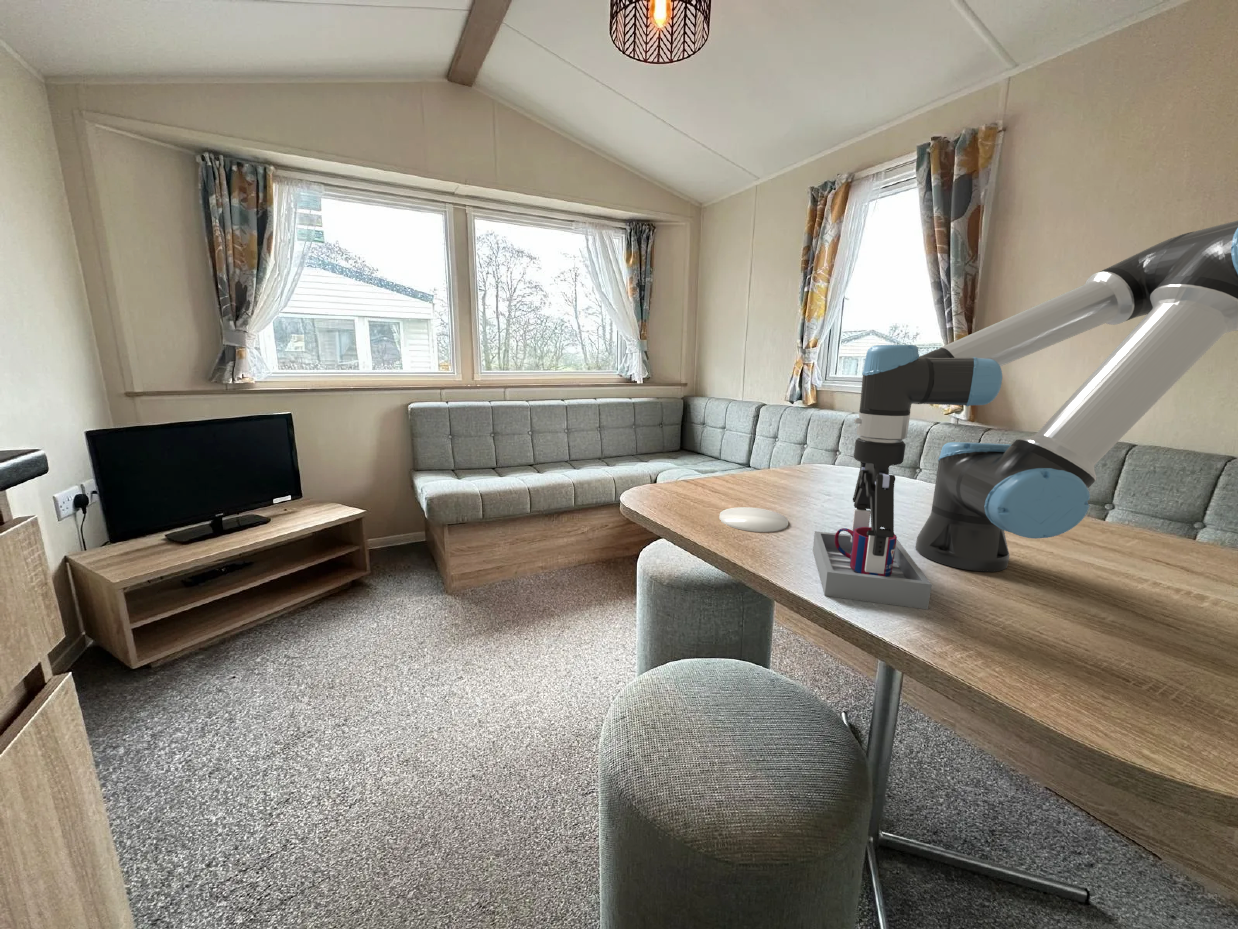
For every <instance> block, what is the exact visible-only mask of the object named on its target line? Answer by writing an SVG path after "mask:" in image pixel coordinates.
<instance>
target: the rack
mask: <svg viewBox="0 0 1238 929" xmlns="http://www.w3.org/2000/svg"><path fill="white" fill-rule="evenodd" d="M813 533H814V534H813V545H812V553H813V557H814V561H815V564H816V568H817V572H818V575H819V579H820V584H821V587H822V591H823V595H824V596H825V597H831V598H839V599H840V598H841V599H847V600H855V601H862V602H869V603H877V604H886V605H893V606H900V607H907V608H915V609H922V610H928V609H929V604H930V596H931V592H932V585H933V584H932V583H931V581H929V579H928V578H927V576H926V574H924V573H923V571H922V570H921V569H920V567H919V565H918V564H917V563H916V562H915V560H914V559H913V558H912V557H911V555H910V554H909V552H908V551H907V550H906V549H905V547H904V546H903V545H902V543H901V542H900V541H899V540H898V539H897V540H896V547H895V554H894V561H893V568H892V574H891V575H890V576H887V577H885V576H877V575H868V574H860V573H858V572H856V571H854V570H853V569H852V568H851V567H850V559H849V558H847V557H846V556H844V555H843V554H841V553H840V552H839V550H838V549H837V548H836V546H835V534H836V532H825V531H818V530H817V531H816V530H815V531H814V532H813ZM838 541H839V545H840V547H841V548H842V549H843V550H844V551H845V552H847V553H849V554H851V550H852V543H851V534H845V533H840V534H839V537H838Z"/></svg>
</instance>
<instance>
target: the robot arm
mask: <svg viewBox="0 0 1238 929" xmlns="http://www.w3.org/2000/svg"><path fill="white" fill-rule="evenodd" d="M1142 316H1144V318H1143V319H1141V320H1140V322H1138V324H1137V325H1136V326H1135V327H1134V328H1133V329H1132V330H1131V332H1130V333H1129V334H1128V335H1127V336H1126V337H1125V338H1124V339H1123V340H1122V341H1121V342H1120V344H1118V345H1117V347H1116V348H1115V349H1113V351H1112V352H1111V353H1110V354H1109V355H1108V356H1107V357H1106V358H1105V359H1104V361H1103V362H1102V363H1100V365H1099V366H1098V367H1097V368H1096V369H1095V370H1094V371H1093V372H1092V373H1091V374H1090V376H1088V378H1087V379H1086V380H1084V382H1083V383H1082V384H1081V385H1080V386H1079V387H1078V388H1077V390H1075V392H1073V393H1072V395H1071V396H1070V397H1069V398H1068V399H1067V400H1066V401H1065V402H1064V404H1062V405H1061V406H1060V407H1059V409H1058V410H1057V411H1056V412H1055V413H1054V415H1052V416H1051V417H1050V418H1049V420H1048V421H1046V423H1045V424H1043V426H1042V427H1041V428H1040V429H1039V430H1038V431H1037V432H1036V433H1035V434H1034V435H1031V436H1029V435H1028V436H1024V437H1023V436H1022V437H1017V439H1016V440H1014V442H1012V443H1011V444H1010V443H1009V444H1006V443H991V442H990V443H989V442H985V443H984V442H967V441H966V442H965V441H964V442H962V441H961V442H959V441H956V442H955V441H952V442H950V441H949V442H946V443H945V444H943V445H942V447H941V451H940V453H939V457H938V459H937V460H938V463H937V470H936V471H937V472H936V479H935V484H934V492H933V499H932V506H931V512H930V515H929V517H928V518H927V520H926V522H925V523H924V525H923V527H922V528H921V530H920V532H918V535H917V537H916V542H915V550H916V551H917V552H918V554H920V555H921V556H923V557H924V558H925V559H926V558H927V559H929V560H931V561H932V562H933V561H934V562H936V563H938V564H942V565H945V566H949V567H952V568H955V569H956V568H957V569H961V570H967V571H973V572H974V571H976V572H987V573H988V572H992V573H993V572H999V571H1003V570H1005V569H1007V568H1008V565H1009V560H1010V552H1009V548H1008V543H1007V539H1006V538H1007V537H1006V534H1005V532H1008V533H1012V534H1013V535H1016V536H1019V537H1022V538H1026V539H1037V540H1038V539H1049V538H1054V537H1057V536H1060V535H1063V534H1065V533H1067V532H1069V531H1070V530H1072V529H1073V528H1075V527H1076V526H1078V524H1080V523H1081V522H1082V521H1083V520H1084V518H1085V516H1086V515H1087V513H1088V511H1089V509H1090V504H1089V503H1088V502H1089V501H1090V500H1091V494H1090V490H1089V488H1090V487H1091V486H1092V485H1093V484H1094V483H1095V482H1096V480H1097V475H1096V471H1095V465H1096V464H1097V463H1099V461H1100V460H1101V459H1102V458H1103V457H1104V456H1105V455H1106V454H1107V453H1108V452H1109V451H1110V450H1111V449H1112V448H1113V447H1115V445H1116V444H1117V443H1118V442H1119V441H1121V439H1122V438H1123V437H1124V436H1125V435H1126V434H1127V433H1128V432H1129V431H1130V430H1131V429H1132V428H1133V427H1134V426H1135V425H1136V424H1137V423H1138V422H1139V421H1140V420H1141V419H1142V418H1143V417H1144V416H1145V415H1146V414H1147V413H1148V412H1149V410H1150V409H1152V408H1153V406H1154V405H1156V404H1157V402H1159V400H1160V399H1161V398H1162V397H1163V396H1165V395H1166V394H1167V393H1168V391H1169V390H1170V389H1172V388H1173V386H1175V384H1177V382H1178V381H1180V379H1182V377H1184V375H1185V374H1187V372H1188V371H1189V370H1190V369H1191V368H1192V367H1193V366H1194V365H1196V363H1197V362H1198V361H1199V360H1200V359H1201V358H1202V357H1203V356H1204V355H1206V353H1207V352H1208V351H1209V350H1210V349H1211V348H1213V346H1215V344H1216V343H1217V342H1218V341H1219V340H1221V338H1222V337H1223V336H1224V335H1226V333H1227V334H1228V333H1231V332H1236V331H1238V220H1234V221H1231V222H1227V223H1223V224H1218V225H1215V226H1210V227H1207V228H1203V229H1199V230H1196V231H1191V232H1186V233H1182V234H1179V235H1176V236H1173V237H1170V238H1168V239H1166V240H1163V241H1161V242H1158V243H1157V244H1155V245H1153V246H1151V247H1148V248H1146V249H1144V250H1142V251H1140V252H1138V253H1136V254H1133V255H1131V256H1129V257H1128V258H1126V259H1123V260H1121V261H1119V262H1118V263H1117V262H1116V263H1115V264H1113V265H1111V266H1109V267H1107V268H1104V269H1103V270H1100V271H1098V272H1095V273H1093V274H1091V276H1088V278H1087V280H1086V281H1085V284H1083V285H1081V286H1078V287H1076V288H1074V289H1072V290H1069V291H1066V292H1065V293H1064V292H1063V293H1062V294H1059V295H1057V296H1055V297H1053V298H1050V299H1049V300H1045V301H1043V302H1042V303H1039V304H1037V305H1035V306H1033V307H1032V306H1031V307H1030V308H1028V309H1026V310H1023V311H1021V312H1018V313H1017V314H1014V315H1012V316H1009V317H1007V318H1005V319H1003V320H1001V321H998V322H996V323H993V324H991V325H989V326H987V327H984V328H982V329H980V330H978V331H975V332H973V333H971V334H968V335H965V336H964V337H962V338H959V339H956V340H954V341H952V342H950V343H948V344H945V345H943V346H941V347H939V348H936V349H934V350H932V351H929V352H927V353H925V354H922V355H920V354H919V347H918V346H917V345H914V344H879V345H878V344H877V345H872V346H871V347H869V348H868V350H867V351H866V355H865V359H864V364H863V370H862V380H861V390H860V391H861V392H860V400H859V402H860V403H859V411H858V412H859V413H858V416H859V417H856V418H854V422H853V423H854V424H857V428H856V435H857V436H858V438H856V439H855V442H854V452H853V458H854V460H856V461H858V462H860V467H859V472H858V477H857V480H856V484H855V488H854V492H853V497H852V503H853V506H854V510H853V518H852V526H851V527H852V528H851V530H852V531H854V529H856V528H859V527H871V530H868V531H867V535H869V540H868V547H867V555H866V563H865V572H871V573H880V574H884V568H885V560H886V553H887V546H888V538H889V537H893V536H894V534H895V532H894V531H895V528H894V527H895V526H894V525H895V518H894V517H895V514H894V513H895V512H894V511H895V509H894V508H895V505H894V502H895V499H894V498H895V492H894V491H895V481H896V476H895V474H890V466H897V465H901V464H902V463H903V462H904V459H905V450H906V443H905V441H903V440H905V439H907V438H908V433H909V426H910V417H911V407H912V404H913V405H942V406H965V407H970V406H985V405H988V404H990V403H993V401H994V400H995V399H996V398H997V396H998V395H999V393H1000V390H1001V388H1002V381H1003V371H1002V368H1001V367H1003V366H1005V365H1008V364H1010V363H1012V362H1015V361H1017V360H1020V359H1022V358H1025V357H1028V356H1029V355H1031V354H1034V353H1037V352H1040V351H1041V350H1044V349H1047V348H1049V347H1051V346H1054V345H1056V344H1060V343H1062V342H1063V341H1066V340H1068V339H1071V338H1073V337H1076V336H1077V335H1080V334H1083V333H1085V332H1087V331H1091V330H1092V329H1095V328H1097V327H1100V326H1102V325H1104V324H1107V325H1114V326H1115V325H1120V324H1122V323H1125V322H1127V321H1131V320H1132V319H1135V318H1138V317H1142ZM870 522H871V523H870ZM851 543H853V537H852V536H851Z"/></svg>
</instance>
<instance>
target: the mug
mask: <svg viewBox="0 0 1238 929" xmlns="http://www.w3.org/2000/svg"><path fill="white" fill-rule="evenodd" d="M868 530H871V526H869V527H859V528H856V529H854V531H852V529H850V528H846V527H844V528H839V529H838V530H837V531H836V532H835V533H836V534H835V546H836V548H837V549H838V550H839V552H840V553H841V554H843V555H844V556H846V557H847V558H849V559H850V567H851V568H852V569H853V570H854V571H856V572H858V573H860V574H868V575H877V576H885V577H887V576H890V575H891V574H892V568H893V561H894V554H895V547H896V540H898V539H897V538H898V536H897V534H895V533H894V536H893V537H889V538H888V546H887V553H886V560H885V568H884V574H880V573H871V572H865V563H866V555H867V547H868V540H869V535H867V531H868ZM841 532H846V533H848V534H849V535H851V536H852V537H853V543H852V550H851V554H849V553H847V552H845V551H844V550H843V549H842V548H841V547H840V545H839V541H838V537H839V534H841Z"/></svg>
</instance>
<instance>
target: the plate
mask: <svg viewBox="0 0 1238 929" xmlns="http://www.w3.org/2000/svg"><path fill="white" fill-rule="evenodd" d="M718 518H719V521H720V520H721V521H720V522H721V523H722V524H724V525H725V524H726V526H728V527H730V528H733V529H737V530H742V531H747V532H753V533H772V532H779V531H782V530H785V529H787V527H788V526H789V519H788V518H787V517H786V516H785V515H783V514H782V513H779V512H778V511H777V512H776V511H774V510H769V509H765V508H759V507H751V506H750V507H749V506H747V507H746V506H745V507H744V506H740V507H738V506H737V507H731V508H727V509H724V510H721V511H720V513H719V517H718Z"/></svg>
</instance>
